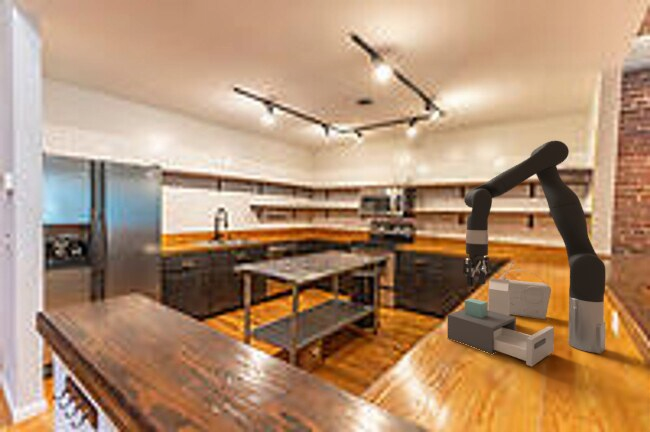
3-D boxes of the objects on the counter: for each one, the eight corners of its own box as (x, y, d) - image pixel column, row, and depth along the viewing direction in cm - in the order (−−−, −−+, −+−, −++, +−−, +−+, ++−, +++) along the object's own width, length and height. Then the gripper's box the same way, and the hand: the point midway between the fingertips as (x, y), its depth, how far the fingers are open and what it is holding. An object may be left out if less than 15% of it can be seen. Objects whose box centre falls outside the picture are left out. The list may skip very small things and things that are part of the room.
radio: (494, 313, 140) (495, 261, 140) (494, 309, 148) (494, 259, 148) (552, 321, 130) (552, 265, 130) (548, 316, 138) (548, 262, 138)
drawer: (554, 351, 99) (554, 327, 99) (532, 366, 88) (532, 340, 88) (502, 335, 112) (502, 314, 112) (478, 346, 102) (478, 323, 102)
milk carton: (507, 327, 123) (507, 281, 123) (488, 323, 128) (488, 279, 128) (509, 322, 129) (509, 278, 129) (490, 318, 133) (491, 276, 133)
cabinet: (515, 342, 108) (515, 317, 108) (491, 354, 98) (491, 327, 98) (472, 328, 121) (472, 306, 121) (447, 338, 111) (447, 314, 111)
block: (487, 315, 110) (487, 302, 110) (480, 318, 107) (480, 304, 107) (471, 311, 115) (471, 298, 115) (464, 313, 112) (464, 300, 112)
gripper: (477, 243, 104) (476, 289, 104) (496, 242, 113) (495, 284, 113) (457, 242, 110) (456, 285, 111) (476, 240, 119) (476, 281, 119)
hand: (476, 285), depth 112 cm, fingers open, 8 cm apart
